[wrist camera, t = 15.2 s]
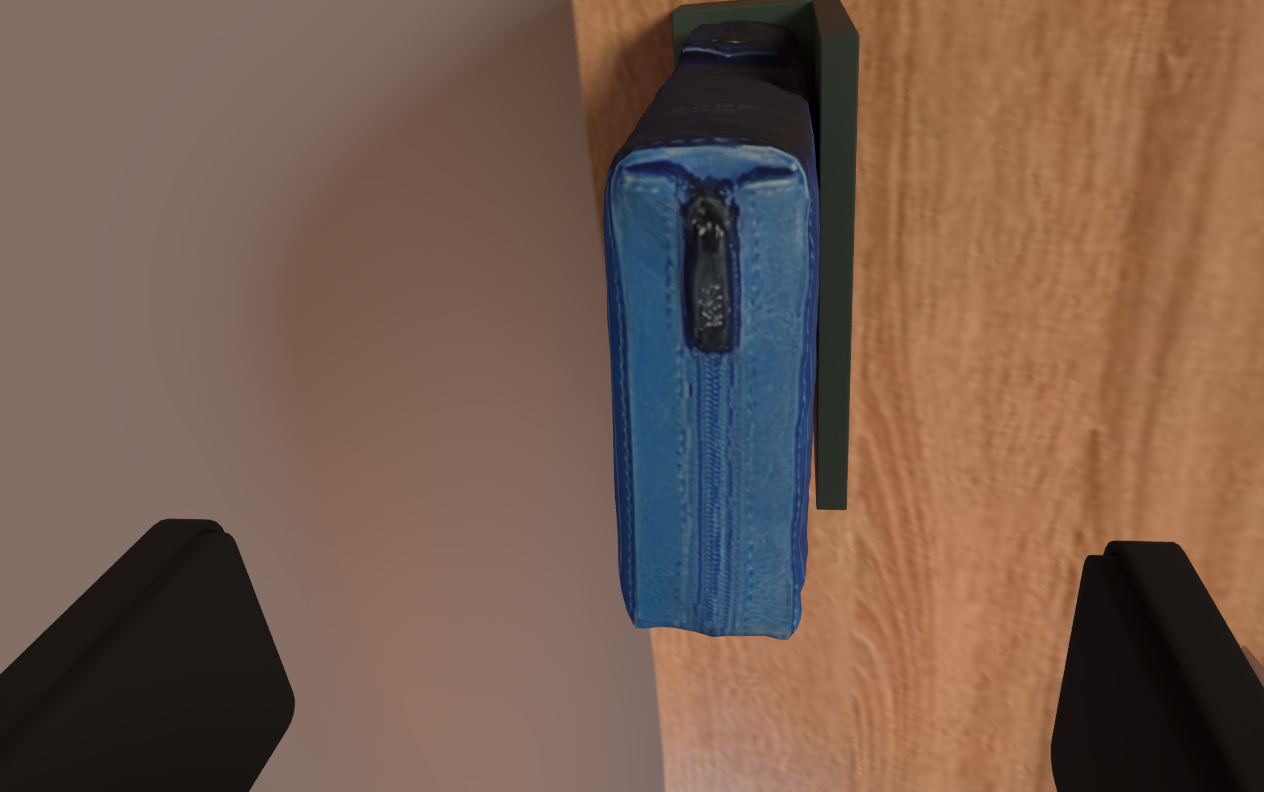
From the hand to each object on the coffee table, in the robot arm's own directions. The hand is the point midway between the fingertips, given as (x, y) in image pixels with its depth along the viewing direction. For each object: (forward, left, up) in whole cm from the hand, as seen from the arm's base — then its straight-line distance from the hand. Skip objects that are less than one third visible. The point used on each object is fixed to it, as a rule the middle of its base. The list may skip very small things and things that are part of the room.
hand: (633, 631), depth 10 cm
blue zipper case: (+3, +1, -30) cm, 30 cm away
